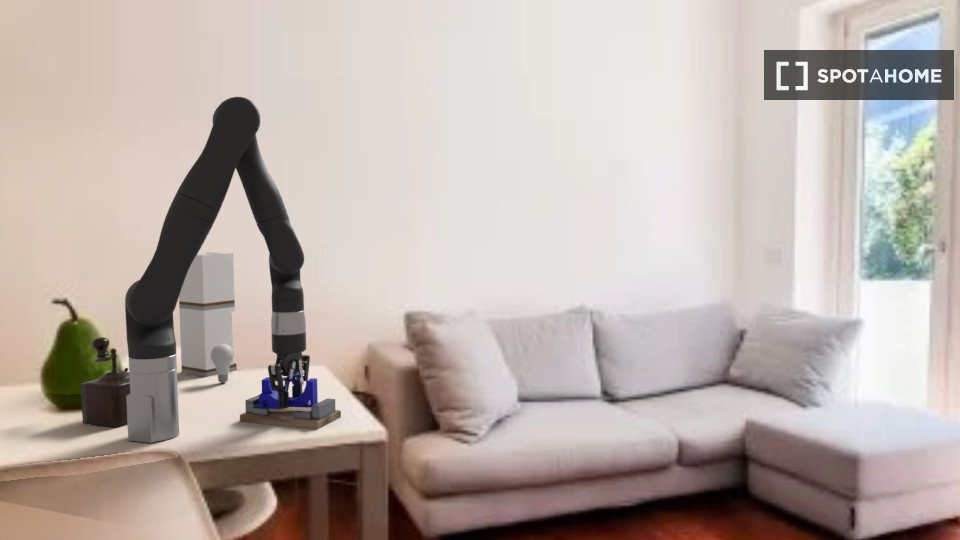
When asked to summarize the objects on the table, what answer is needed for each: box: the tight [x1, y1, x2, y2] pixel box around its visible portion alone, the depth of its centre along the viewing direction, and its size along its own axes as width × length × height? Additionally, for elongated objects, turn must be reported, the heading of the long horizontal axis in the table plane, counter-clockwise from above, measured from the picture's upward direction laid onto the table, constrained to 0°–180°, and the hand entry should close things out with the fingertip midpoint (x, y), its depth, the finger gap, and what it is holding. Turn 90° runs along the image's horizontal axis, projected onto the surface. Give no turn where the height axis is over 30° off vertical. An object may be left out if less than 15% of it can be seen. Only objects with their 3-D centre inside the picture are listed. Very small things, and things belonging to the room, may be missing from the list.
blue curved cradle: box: [258, 376, 319, 409], centre depth 172 cm, size 12×4×6 cm, turn 82°
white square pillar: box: [178, 251, 238, 378], centre depth 223 cm, size 11×11×35 cm
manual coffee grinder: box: [80, 336, 130, 429], centre depth 173 cm, size 16×11×18 cm
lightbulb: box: [211, 344, 235, 384], centre depth 208 cm, size 6×6×11 cm
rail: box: [239, 394, 342, 430], centre depth 172 cm, size 10×20×4 cm, turn 72°
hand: (290, 404), depth 172 cm, fingers closed on blue curved cradle, 5 cm apart
